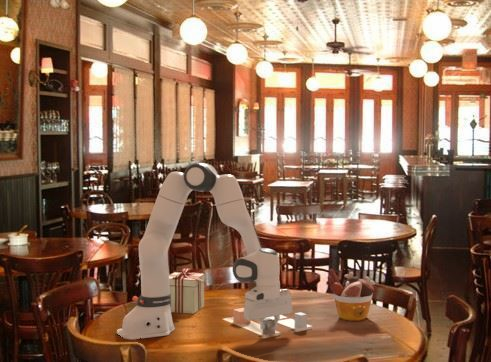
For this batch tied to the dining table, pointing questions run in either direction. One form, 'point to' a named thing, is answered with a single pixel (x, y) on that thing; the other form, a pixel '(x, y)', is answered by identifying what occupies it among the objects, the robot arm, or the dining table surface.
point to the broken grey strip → (290, 323)
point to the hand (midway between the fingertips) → (268, 328)
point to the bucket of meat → (352, 296)
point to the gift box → (186, 291)
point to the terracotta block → (239, 316)
